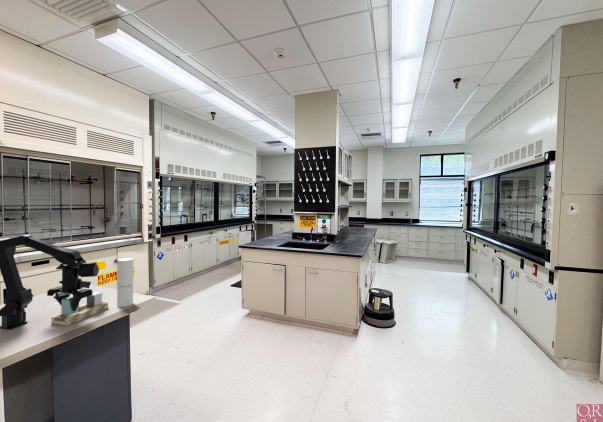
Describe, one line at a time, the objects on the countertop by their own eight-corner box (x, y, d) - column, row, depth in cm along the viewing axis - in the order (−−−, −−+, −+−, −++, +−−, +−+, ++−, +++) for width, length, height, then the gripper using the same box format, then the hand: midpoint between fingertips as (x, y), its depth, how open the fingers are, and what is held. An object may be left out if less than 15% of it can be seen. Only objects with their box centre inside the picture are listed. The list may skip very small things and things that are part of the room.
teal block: (69, 315, 117) (69, 300, 117) (61, 314, 118) (61, 299, 118) (79, 311, 121) (79, 296, 121) (71, 310, 122) (71, 295, 122)
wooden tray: (67, 325, 114) (67, 319, 114) (51, 323, 116) (51, 317, 116) (108, 307, 134) (108, 302, 134) (93, 306, 135) (93, 300, 135)
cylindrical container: (128, 300, 144) (129, 257, 143) (135, 303, 140) (136, 259, 140) (114, 304, 138) (115, 259, 137) (120, 307, 134) (121, 261, 134)
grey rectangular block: (93, 309, 128) (93, 295, 128) (86, 308, 129) (86, 294, 129) (101, 305, 133) (102, 292, 133) (94, 304, 133) (94, 291, 133)
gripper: (103, 274, 125) (102, 305, 126) (71, 271, 128) (71, 302, 129) (80, 281, 114) (80, 315, 115) (46, 277, 117) (46, 311, 118)
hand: (70, 310), depth 119 cm, fingers closed on teal block, 5 cm apart
